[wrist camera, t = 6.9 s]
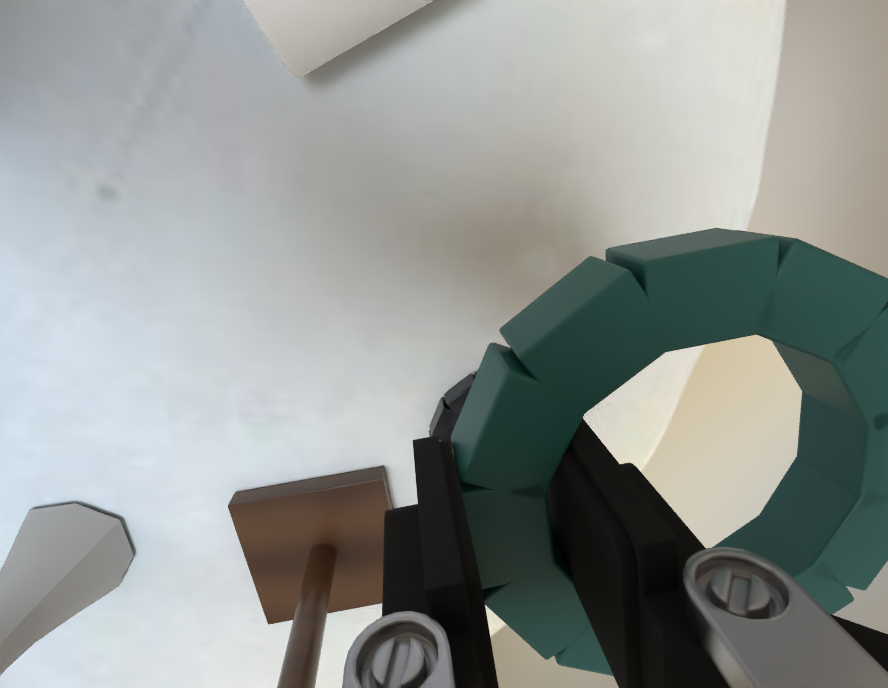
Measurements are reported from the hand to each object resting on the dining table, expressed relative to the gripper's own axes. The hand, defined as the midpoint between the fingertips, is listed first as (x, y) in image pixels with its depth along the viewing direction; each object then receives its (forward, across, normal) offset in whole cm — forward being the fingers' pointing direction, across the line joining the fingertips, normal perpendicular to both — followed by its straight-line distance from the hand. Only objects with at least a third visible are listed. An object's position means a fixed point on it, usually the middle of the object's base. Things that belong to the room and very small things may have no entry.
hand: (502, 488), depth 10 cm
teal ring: (0, -4, 0) cm, 4 cm away
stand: (+20, +10, +16) cm, 28 cm away
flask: (+21, +26, +13) cm, 36 cm away
